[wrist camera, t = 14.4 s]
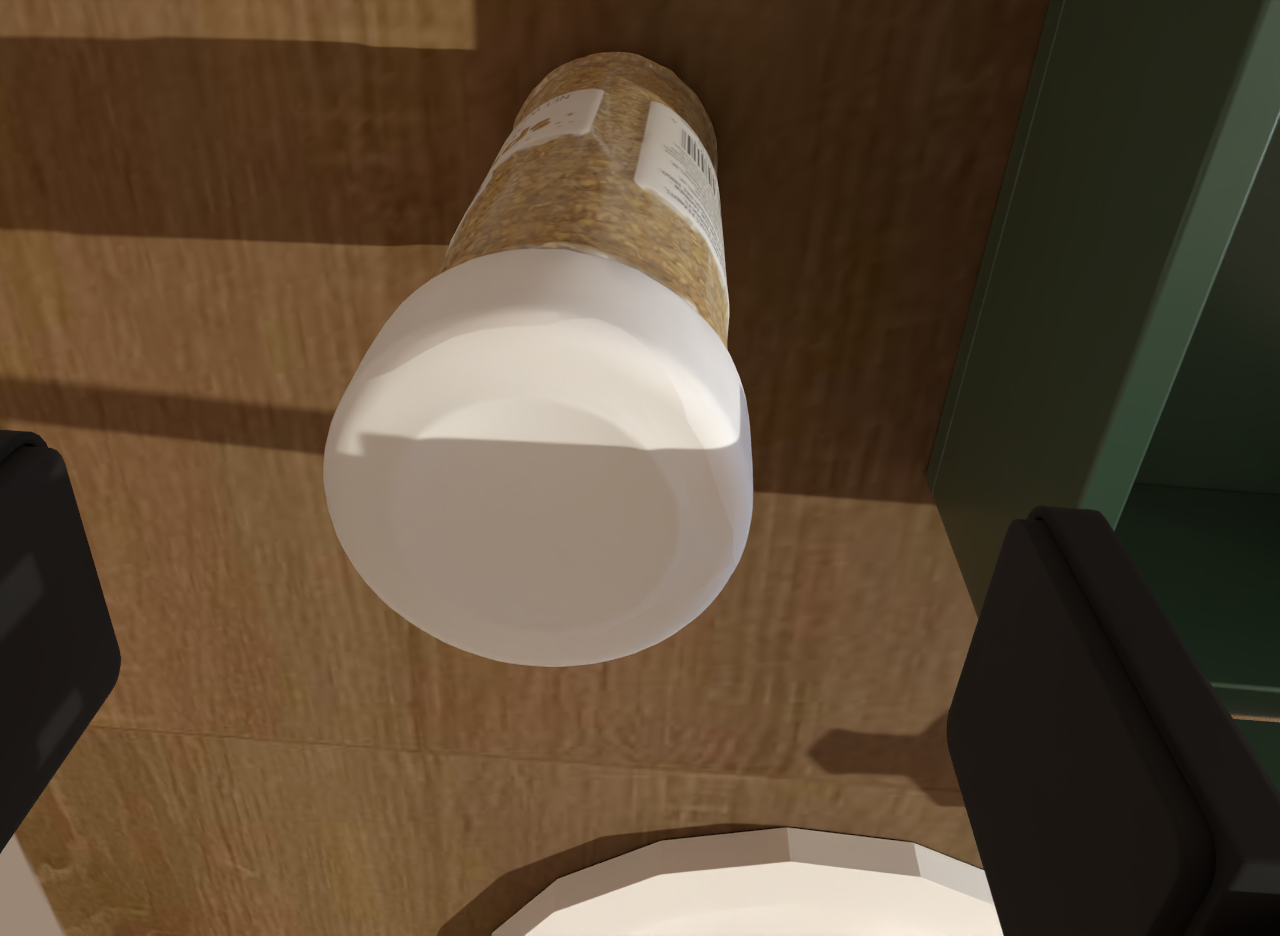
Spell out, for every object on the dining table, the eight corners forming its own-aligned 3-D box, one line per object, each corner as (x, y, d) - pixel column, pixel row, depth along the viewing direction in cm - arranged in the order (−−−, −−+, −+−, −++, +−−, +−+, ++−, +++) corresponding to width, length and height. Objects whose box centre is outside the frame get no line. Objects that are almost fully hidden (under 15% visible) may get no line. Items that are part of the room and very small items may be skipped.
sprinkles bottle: (506, 44, 20) (273, 307, 9) (729, 52, 20) (780, 327, 9) (516, 258, 23) (343, 676, 11) (714, 265, 23) (739, 695, 11)
